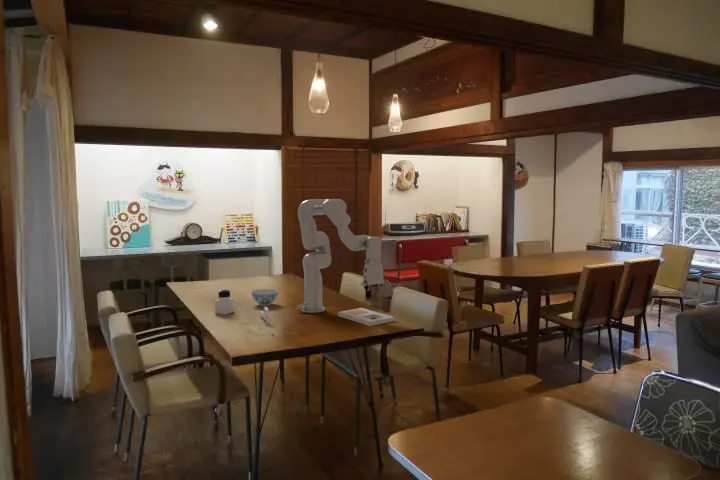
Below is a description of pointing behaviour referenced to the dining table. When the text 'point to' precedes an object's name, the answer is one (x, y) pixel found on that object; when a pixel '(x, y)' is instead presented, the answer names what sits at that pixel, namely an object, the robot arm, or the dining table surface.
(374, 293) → the walnut block
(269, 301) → the chinaware
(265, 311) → the llama figurine
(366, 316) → the pocket board
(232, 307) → the medicine bottle
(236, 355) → the dining table surface
